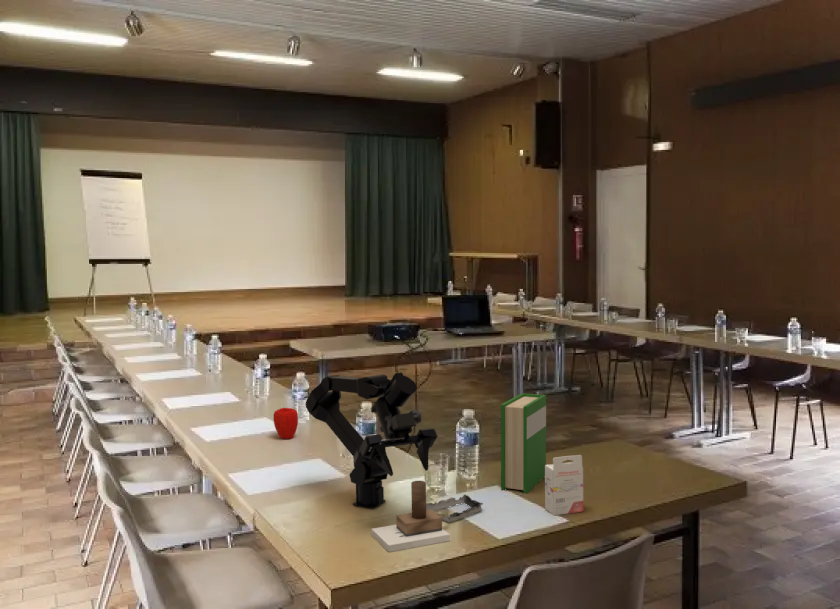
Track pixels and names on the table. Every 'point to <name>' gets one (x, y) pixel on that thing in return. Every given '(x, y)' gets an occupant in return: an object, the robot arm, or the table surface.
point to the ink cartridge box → (564, 485)
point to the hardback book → (523, 441)
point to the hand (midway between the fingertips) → (409, 472)
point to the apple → (286, 422)
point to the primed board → (406, 538)
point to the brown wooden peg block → (418, 514)
